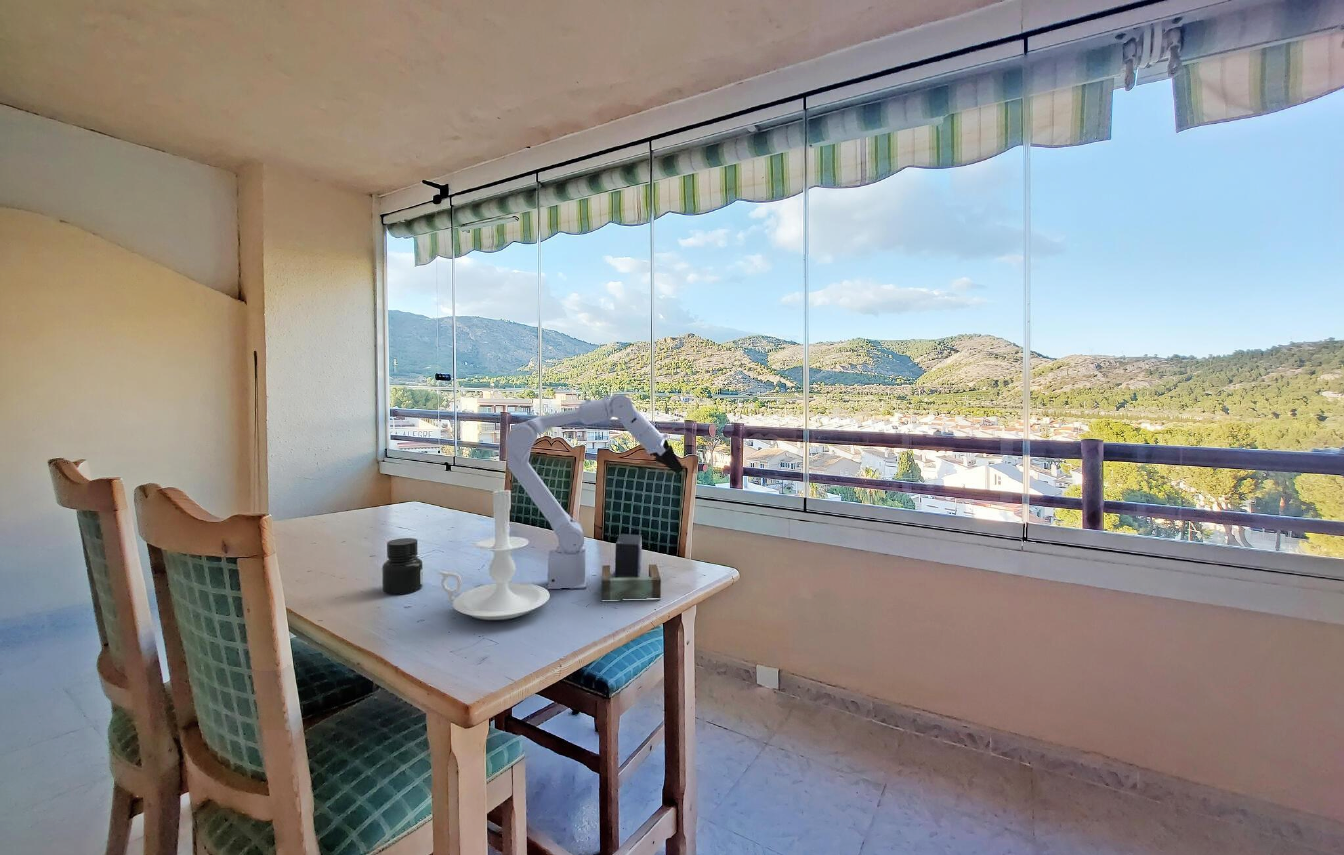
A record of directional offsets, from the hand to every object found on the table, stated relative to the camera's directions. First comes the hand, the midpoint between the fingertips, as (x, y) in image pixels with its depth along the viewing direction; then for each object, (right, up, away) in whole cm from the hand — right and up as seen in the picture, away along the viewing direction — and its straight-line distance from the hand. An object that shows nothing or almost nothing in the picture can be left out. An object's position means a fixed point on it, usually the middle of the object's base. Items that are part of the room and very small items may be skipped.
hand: (678, 468), depth 146 cm
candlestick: (-42, -31, -22) cm, 57 cm away
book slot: (-12, -30, -9) cm, 34 cm away
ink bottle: (-68, -29, -9) cm, 75 cm away
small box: (-13, -30, +3) cm, 33 cm away
